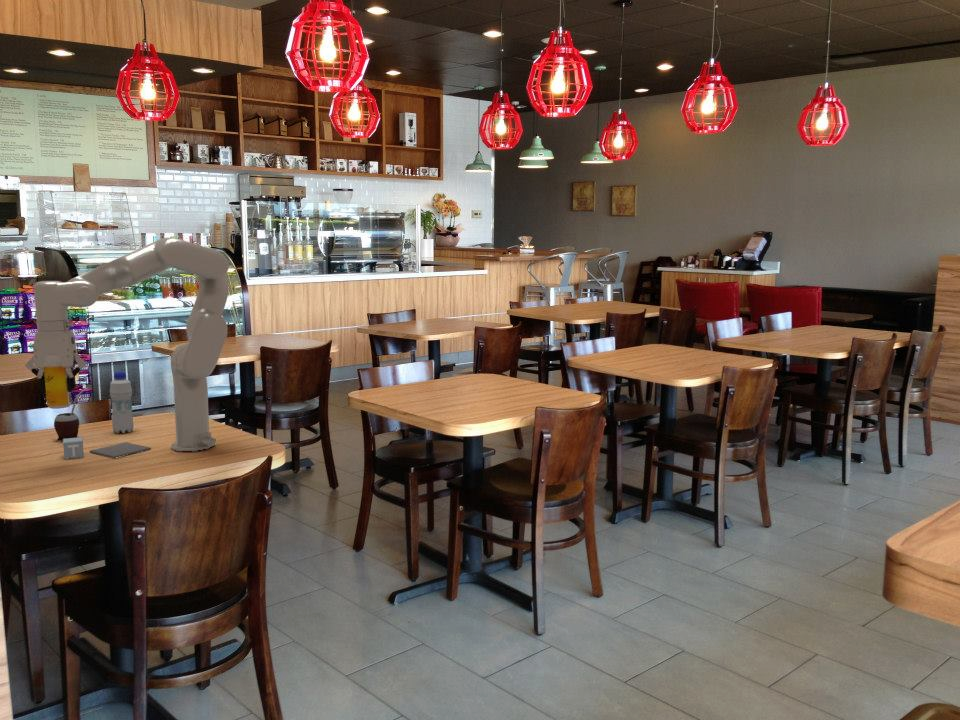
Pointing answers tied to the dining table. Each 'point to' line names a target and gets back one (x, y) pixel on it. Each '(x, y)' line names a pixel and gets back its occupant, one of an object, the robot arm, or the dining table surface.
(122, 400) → the bottle
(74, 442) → the letter block
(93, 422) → the dining table surface
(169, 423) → the dining table surface
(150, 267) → the robot arm
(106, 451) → the coaster
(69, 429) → the mate gourd
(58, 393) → the beer can
